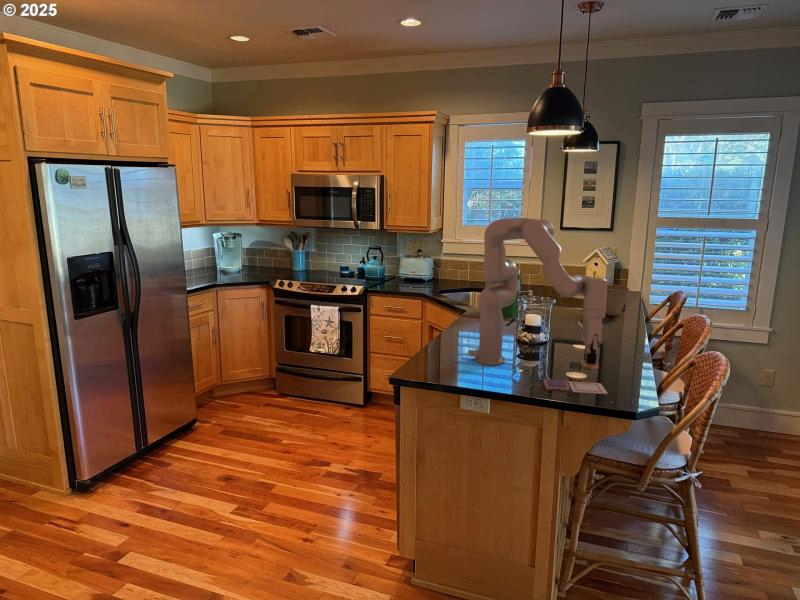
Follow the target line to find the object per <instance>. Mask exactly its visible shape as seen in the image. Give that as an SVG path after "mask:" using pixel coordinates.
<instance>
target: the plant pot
mask: <svg viewBox="0 0 800 600" xmlns="http://www.w3.org/2000/svg"><path fill="white" fill-rule="evenodd" d="M629 292H630V287H627V286H623V285H616V284H608V286H607V298H606V310H605V315H608V316H620V315H621V313H622V311H623V308H624V307H625V304H626V302H627V299H628V296H629Z"/></svg>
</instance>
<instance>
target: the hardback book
mask: <svg viewBox="0 0 800 600" xmlns="http://www.w3.org/2000/svg"><path fill="white" fill-rule="evenodd" d="M520 282H521V274H518V273H517V290H516V298H515V301H514V302H513V304H511V305H510V306H507V307H503V308H501V311H502V315H503V318H507V319H514V318H516V317H518V316H519V302H520V301H519V302H518V299H519V300H520ZM492 286H497V283H495V284H491V283H488V282H486V281H485V286H484V289H486V288H488V287H492Z"/></svg>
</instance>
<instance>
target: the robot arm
mask: <svg viewBox="0 0 800 600" xmlns="http://www.w3.org/2000/svg"><path fill="white" fill-rule="evenodd" d="M554 235H555V227H554V226H553V224H552V222H550V221H549V220H547V219H537V218H536V219H535V218H527V217H507V218H505V217H504V218H499V219H496V220H493V221H492V222H491V223H490V224H488V226H487V227H486V229H485V231H484V235H483V242H484V251H483V252H484V254H483V279H484V280H485V282H488V283H491V284H495V283H497V286H492V287H488V288H486V289H485V288H484V289H483V290H481V292H480V293H479V295H478V305H479V311H480V313H479V316H480V320H479V337H478V338H479V340H478V344H479V345H478V348H477V349H475V350H473V349H468V350H467V355H470V356H471V357H473V356H474V360H475V362H476V363H479V364H481V365H485V366H486V365H487V366H498V365H499V366H500V365H503V364H505V363H506V358H505V357H504V356H502V355H503V354H502V353H503V339H504V338H503V337H504V336H503V335H504V317H503V315H502V311H501V308H503V307H507V306H510V305H511V304H513V302H514V301H515V298H516V290H517V274H518V268H517V265H516V264H515V262H514V261H513V260H512V259H509V258H506V256H507V255H506V253H507V250H506V248H507V247H506V246H505V245H506V244H505V243H504V242H505V241H508V240H509V241H511V240H524V241H525V242H526V244H527V245H528V246H529V247H530V249H532V251H533V252H534V254H535V255H536V256H537V257H538V260H540V262H542V269H543V272H544V275H545V278H546V280H547V281H548V283H549V284H550V286H551V287H552V288H553V289H554V290H555V292H556V293H557V294H558V295H560V296H561V297H563V298H573V297H579V296H583V301H582V315H581V316H582V317H583V320H582V326H581V327H582V328H581V335H580V339H581V341H582V343H584V345H585V346H584V356H583V360H585V357H586V346H588V345H589V346H588V353H587V362H586V363H587V364H596V362H597V356H598V347H599V346H601V342H602V330H603V319H606V318H605V317H606V312H605V310H606V298H607V286H608V285H609V284H608V280H607V279H606V278H603V277H595V276H594V277H593V276H589V275H586V274H582V273H581V274H577V273H576V274H573V275H569V274H568V273H567V271H566V270H565V268H564V267H563V266H562V264H561V261H560V257H561V254H562V247H561V246H560V245H559V244H558V242H557V241H556V239H554ZM591 343H593V345H591Z"/></svg>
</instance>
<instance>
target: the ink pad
mask: <svg viewBox="0 0 800 600" xmlns="http://www.w3.org/2000/svg"><path fill="white" fill-rule="evenodd" d="M543 385H544V387H545V389H546V390H552V389H555V391H570V386H569V384H568V381H567V380H565V379H552V378H551V379H548V378H546V379H543ZM556 389H558V390H556ZM559 389H560V390H559Z"/></svg>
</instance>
